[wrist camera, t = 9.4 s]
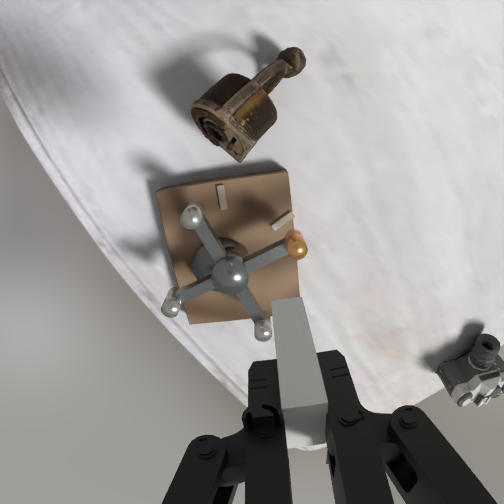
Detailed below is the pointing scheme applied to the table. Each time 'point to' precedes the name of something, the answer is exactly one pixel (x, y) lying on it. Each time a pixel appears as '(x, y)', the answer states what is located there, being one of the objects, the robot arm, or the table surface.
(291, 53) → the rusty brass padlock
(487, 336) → the camera
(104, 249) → the table surface
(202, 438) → the robot arm
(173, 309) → the grey star handwheel
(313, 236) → the table surface
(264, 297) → the stand board
